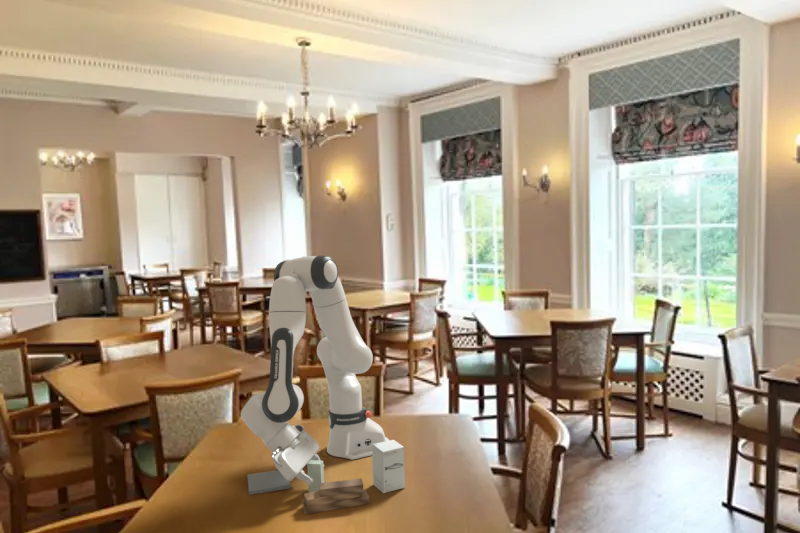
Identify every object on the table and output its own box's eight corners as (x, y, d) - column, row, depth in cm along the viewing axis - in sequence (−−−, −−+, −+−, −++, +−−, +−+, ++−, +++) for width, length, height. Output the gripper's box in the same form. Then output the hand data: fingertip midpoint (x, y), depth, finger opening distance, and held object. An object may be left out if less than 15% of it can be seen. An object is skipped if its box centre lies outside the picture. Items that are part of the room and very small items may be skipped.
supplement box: (383, 494, 168) (382, 451, 167) (372, 484, 175) (371, 443, 174) (406, 488, 172) (404, 446, 171) (394, 478, 178) (393, 438, 177)
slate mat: (286, 471, 186) (286, 468, 185) (290, 488, 174) (290, 485, 174) (247, 477, 182) (247, 474, 182) (249, 494, 171) (248, 491, 171)
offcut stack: (365, 495, 168) (364, 475, 168) (370, 504, 163) (369, 483, 162) (302, 506, 163) (301, 485, 162) (305, 515, 157) (304, 494, 157)
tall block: (311, 489, 173) (310, 460, 172) (324, 490, 172) (323, 460, 171) (308, 493, 170) (307, 463, 170) (321, 494, 170) (320, 464, 169)
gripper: (276, 448, 161) (311, 484, 160) (303, 422, 181) (334, 454, 180) (262, 463, 162) (297, 499, 161) (290, 436, 182) (321, 468, 181)
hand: (317, 475), depth 171 cm, fingers open, 8 cm apart
